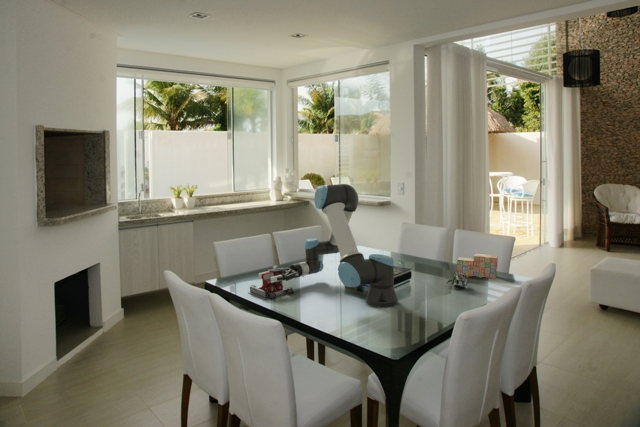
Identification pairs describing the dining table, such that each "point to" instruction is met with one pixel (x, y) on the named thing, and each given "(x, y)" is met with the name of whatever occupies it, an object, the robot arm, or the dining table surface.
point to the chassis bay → (266, 294)
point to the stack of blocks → (478, 266)
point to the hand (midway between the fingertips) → (265, 277)
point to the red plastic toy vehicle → (271, 286)
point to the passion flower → (458, 279)
